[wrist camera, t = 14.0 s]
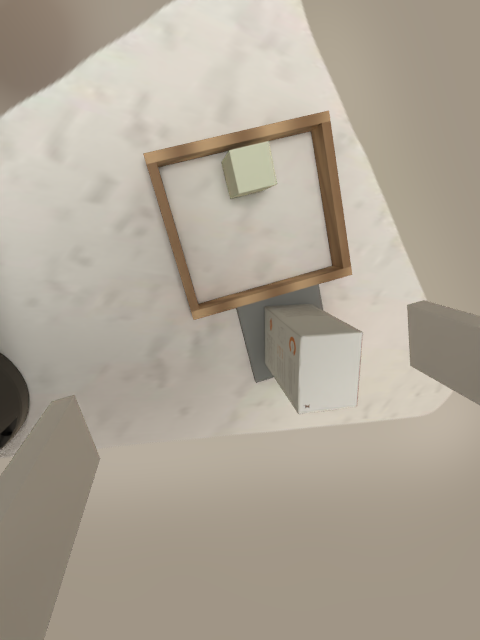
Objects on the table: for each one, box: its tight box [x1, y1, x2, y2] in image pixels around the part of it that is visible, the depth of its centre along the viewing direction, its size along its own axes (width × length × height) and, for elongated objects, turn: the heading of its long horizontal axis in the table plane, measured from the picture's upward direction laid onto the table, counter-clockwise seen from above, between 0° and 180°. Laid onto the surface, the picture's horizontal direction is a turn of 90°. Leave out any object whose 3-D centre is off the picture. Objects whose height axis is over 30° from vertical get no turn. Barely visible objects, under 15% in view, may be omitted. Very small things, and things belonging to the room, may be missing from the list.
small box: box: [265, 304, 363, 414], centre depth 37 cm, size 8×6×13 cm
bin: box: [144, 111, 352, 320], centre depth 38 cm, size 20×18×3 cm
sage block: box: [222, 141, 277, 199], centre depth 35 cm, size 4×4×6 cm
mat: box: [237, 284, 323, 383], centre depth 44 cm, size 11×11×1 cm
